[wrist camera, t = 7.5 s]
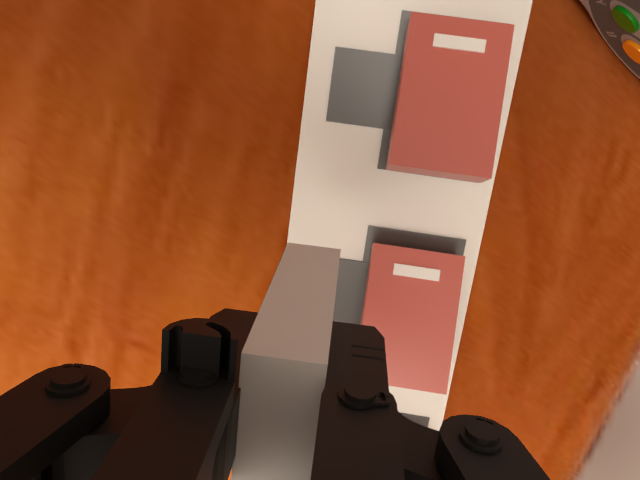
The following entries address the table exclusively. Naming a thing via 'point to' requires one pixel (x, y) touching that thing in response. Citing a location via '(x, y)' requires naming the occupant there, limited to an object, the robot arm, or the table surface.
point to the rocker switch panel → (384, 158)
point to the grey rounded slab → (619, 28)
